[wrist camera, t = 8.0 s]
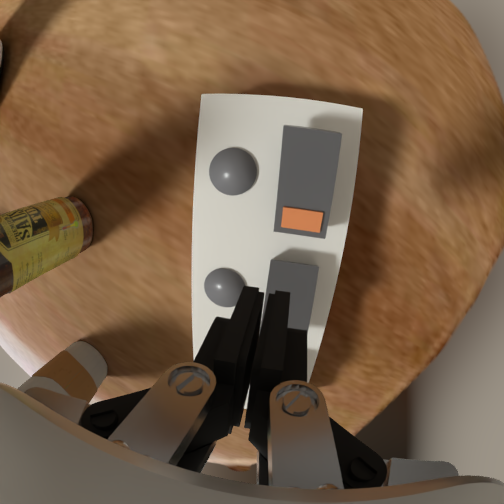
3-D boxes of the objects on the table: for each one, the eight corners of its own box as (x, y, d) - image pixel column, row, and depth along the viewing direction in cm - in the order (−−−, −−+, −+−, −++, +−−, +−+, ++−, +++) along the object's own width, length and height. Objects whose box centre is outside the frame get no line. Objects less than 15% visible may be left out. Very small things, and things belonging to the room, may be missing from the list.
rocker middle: (272, 259, 18) (270, 259, 17) (317, 265, 18) (319, 266, 17) (258, 345, 18) (256, 352, 17) (301, 351, 18) (302, 359, 17)
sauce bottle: (98, 201, 23) (-92, 284, 5) (95, 259, 25) (-57, 368, 7) (57, 188, 23) (-103, 247, 5) (55, 241, 26) (-82, 321, 7)
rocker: (285, 124, 14) (283, 125, 13) (339, 132, 14) (342, 134, 12) (275, 223, 17) (273, 232, 16) (324, 230, 17) (325, 240, 15)
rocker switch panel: (217, 103, 19) (200, 93, 15) (352, 116, 17) (363, 108, 14) (206, 375, 28) (195, 398, 24) (298, 391, 26) (296, 417, 23)
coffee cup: (92, 381, 33) (39, 447, 19) (60, 337, 31) (-5, 398, 17) (126, 380, 31) (67, 461, 17) (90, 328, 29) (13, 404, 15)
